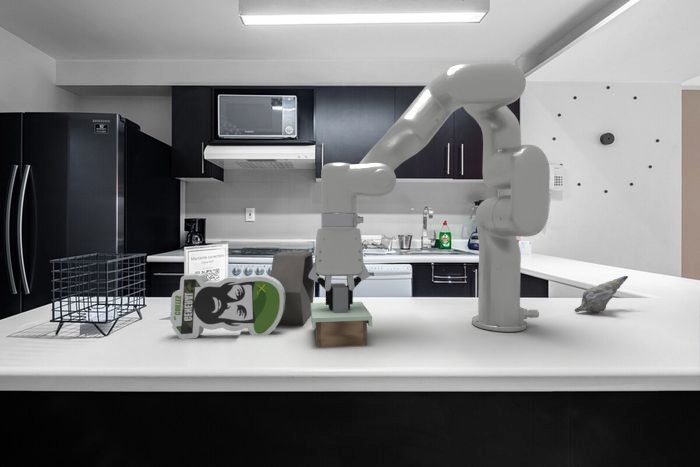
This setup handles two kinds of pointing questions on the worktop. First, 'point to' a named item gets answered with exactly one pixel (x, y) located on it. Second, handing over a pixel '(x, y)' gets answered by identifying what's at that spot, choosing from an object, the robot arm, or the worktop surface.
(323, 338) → the wooden box
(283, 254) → the planter
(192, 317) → the cutout
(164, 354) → the worktop surface
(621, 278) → the seashell
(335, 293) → the lid
